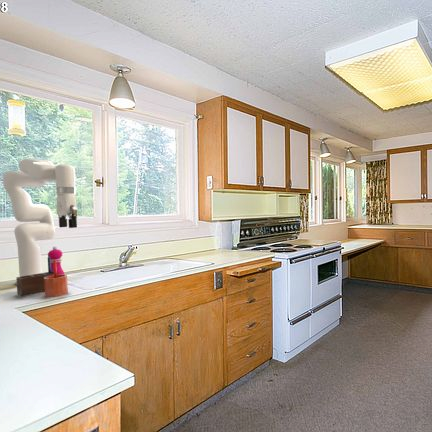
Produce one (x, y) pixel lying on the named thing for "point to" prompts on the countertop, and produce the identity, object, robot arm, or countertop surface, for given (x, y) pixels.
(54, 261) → the red toy mallet
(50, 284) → the crock
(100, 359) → the countertop surface
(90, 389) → the countertop surface
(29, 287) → the caddy
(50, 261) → the blue rounded rod
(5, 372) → the countertop surface
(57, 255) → the pepper mill
